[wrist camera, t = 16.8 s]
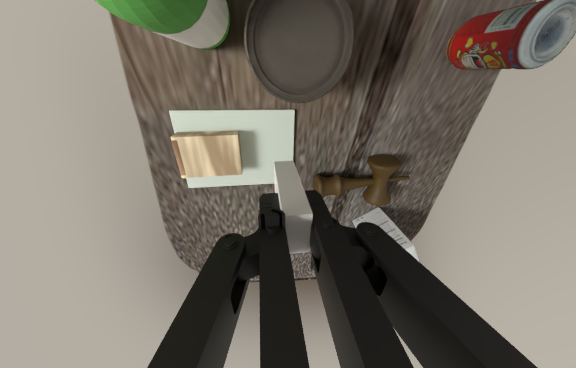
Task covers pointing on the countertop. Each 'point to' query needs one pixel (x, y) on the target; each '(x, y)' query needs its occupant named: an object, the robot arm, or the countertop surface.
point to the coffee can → (299, 46)
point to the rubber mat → (244, 141)
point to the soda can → (514, 36)
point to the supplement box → (388, 229)
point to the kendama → (364, 181)
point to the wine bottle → (177, 19)
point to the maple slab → (208, 153)
